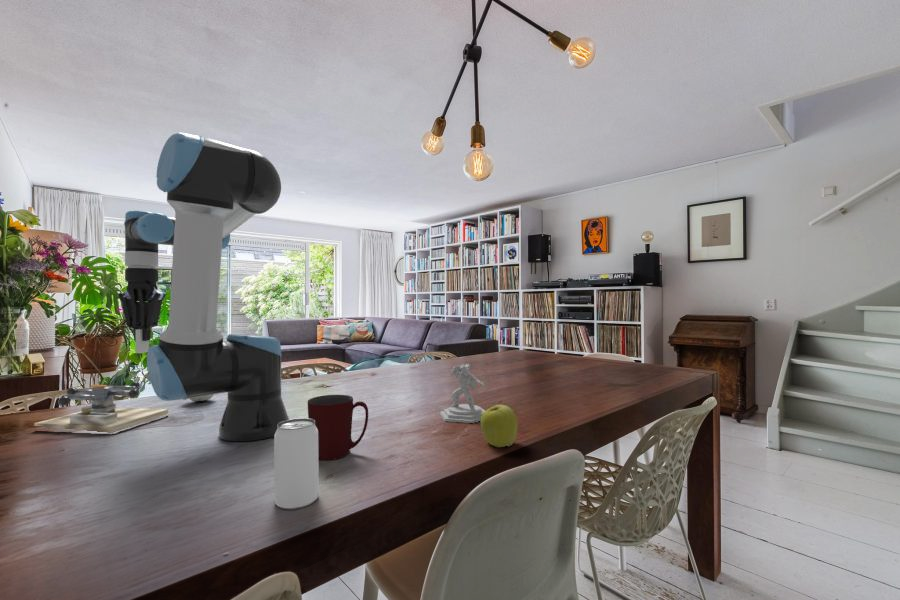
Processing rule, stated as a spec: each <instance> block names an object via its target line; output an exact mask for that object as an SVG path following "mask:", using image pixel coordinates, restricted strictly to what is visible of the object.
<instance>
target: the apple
mask: <svg viewBox="0 0 900 600" xmlns="http://www.w3.org/2000/svg"><path fill="white" fill-rule="evenodd" d="M502 402H503V401H502V400H500V401H499V403H498V404H495V405H493V406H491V407H489V408H487V409H486V410H485V412H484V413H483V414H482V416H481V421H480V428H481V432H482V434H483V436H484V439H485V440H486V441H487V442H488V444H490V445H491V446H493V447H495V448H505V446H508V447H510V445H511V446H512V445H513V444H514V442H515V440H516V437H517V434H518V427H519V426H518V420H517V416H516V414H515V412H514V411H513V409H512V408H510V407H509V406H508V405H505V404H501V403H502Z"/></svg>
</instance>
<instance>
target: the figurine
mask: <svg viewBox="0 0 900 600" xmlns="http://www.w3.org/2000/svg"><path fill="white" fill-rule="evenodd" d="M451 369H452V370H451V371H450V375H451V376H453V377H454V378H457V379H458V380H457V383H458V384H460V385H459V386H460V387H459V388H457V389H455V390H454V391H453V392H452V393H451V398H452V401H453V404H452V405H450V406H449V407H448V408H444V409H443V410H442V411H439V416H440V417H441V416H442V417H441V418H442V419H443V421H444V422H445V421H448V423H456V422H463V423H462V424H468V423H473V424H475V423H474V422H476V423H479V422H478V421H480V422H481V416H482V414H483V413H484V412H485V411H486V410H485V409H484V408H482V407H481V406H479V405H475V404H474V397H473V396H472V393H471V391H470V390H469V387H470V388H471V390H473V391H474V392H476V394H477V393H478V391H477V388H476V386H475V385H476V384H477V385H478V386H480V387H486V384H485V383H484V382H482V380H479V379H478V377H476V376H475V375H474V374H471V373H470V370H471V365H470V364H469V363H466V364H465V363H461V365H457V366H453V368H451ZM474 383H475V384H474ZM463 394H464V398H465V399H466V400H465V401H466V403H461V404H460V401H461V399H460V396H462V395H463Z"/></svg>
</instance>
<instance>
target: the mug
mask: <svg viewBox="0 0 900 600" xmlns="http://www.w3.org/2000/svg"><path fill="white" fill-rule="evenodd" d="M357 407H362V408H363V409H364V411H365V418H364V425H363V429H362V431H361V433H360V435H359V437H358V438H357V439H356V440H355V441H354V440H352V430H353V429H352V428H353V413H354V409H355V408H357ZM307 415H308V416H307V417H308V419H313V420H315V426H316V428H317V430H318V459H319V460H320V461H333V460H337V459H341V458H344V457H346V456H348V455H349V454H350V451H351V449H353V448H355V447H357V446H358V444H359V443H360V442H361V441H362V439H363V437H364V435H365V433H366V430H367V429H368V424H369V423H368V421H369V408H368V405H367V404H366V403H365V402H364V401H361V400H359V401H356V402H355V403H354V398H353V396H350V395H347V394H346V395H345V394H327V395H324V394H323V395H320V396H315V397H311V398H310V399H308V400H307Z"/></svg>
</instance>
